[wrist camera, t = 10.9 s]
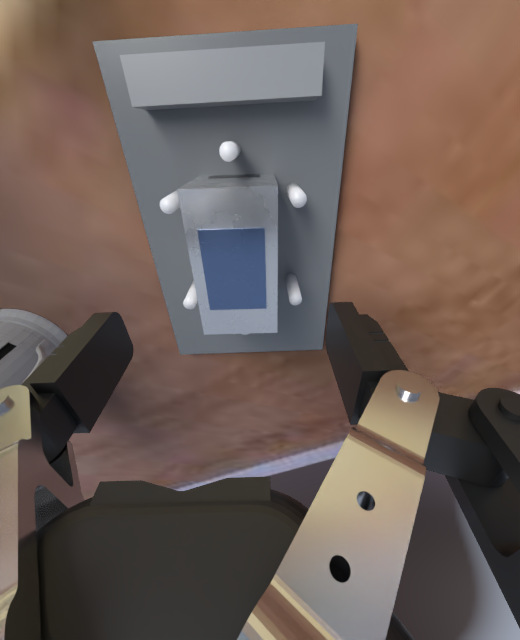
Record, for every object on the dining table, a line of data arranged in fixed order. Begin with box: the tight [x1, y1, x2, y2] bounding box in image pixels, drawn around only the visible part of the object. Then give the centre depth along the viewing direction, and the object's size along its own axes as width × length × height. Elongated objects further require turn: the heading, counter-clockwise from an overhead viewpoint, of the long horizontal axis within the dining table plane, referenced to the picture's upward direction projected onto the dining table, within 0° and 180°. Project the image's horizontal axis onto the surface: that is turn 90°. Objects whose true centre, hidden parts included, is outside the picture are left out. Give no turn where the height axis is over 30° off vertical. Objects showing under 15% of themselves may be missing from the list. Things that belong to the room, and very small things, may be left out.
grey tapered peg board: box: [93, 24, 358, 354], centre depth 19 cm, size 22×14×5 cm, turn 3°
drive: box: [177, 174, 278, 335], centre depth 18 cm, size 9×5×6 cm, turn 2°
